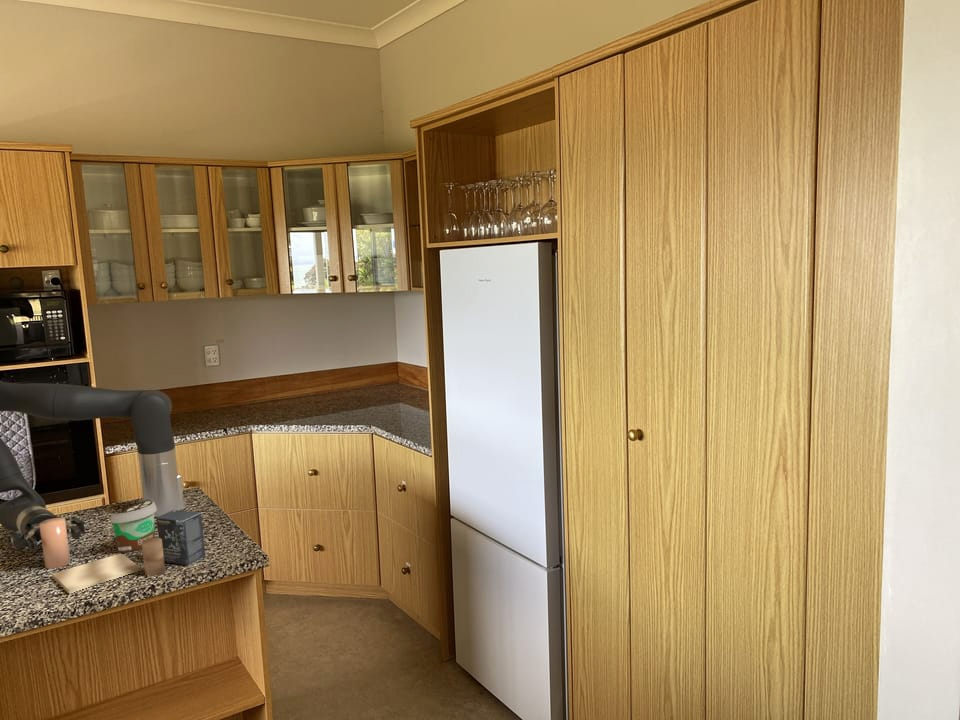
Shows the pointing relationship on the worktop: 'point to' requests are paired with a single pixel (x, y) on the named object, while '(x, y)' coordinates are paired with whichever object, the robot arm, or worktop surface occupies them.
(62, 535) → the salmon orange cylinder
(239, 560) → the worktop surface
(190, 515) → the box
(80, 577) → the birch board
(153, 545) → the walnut cylinder
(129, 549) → the food container
